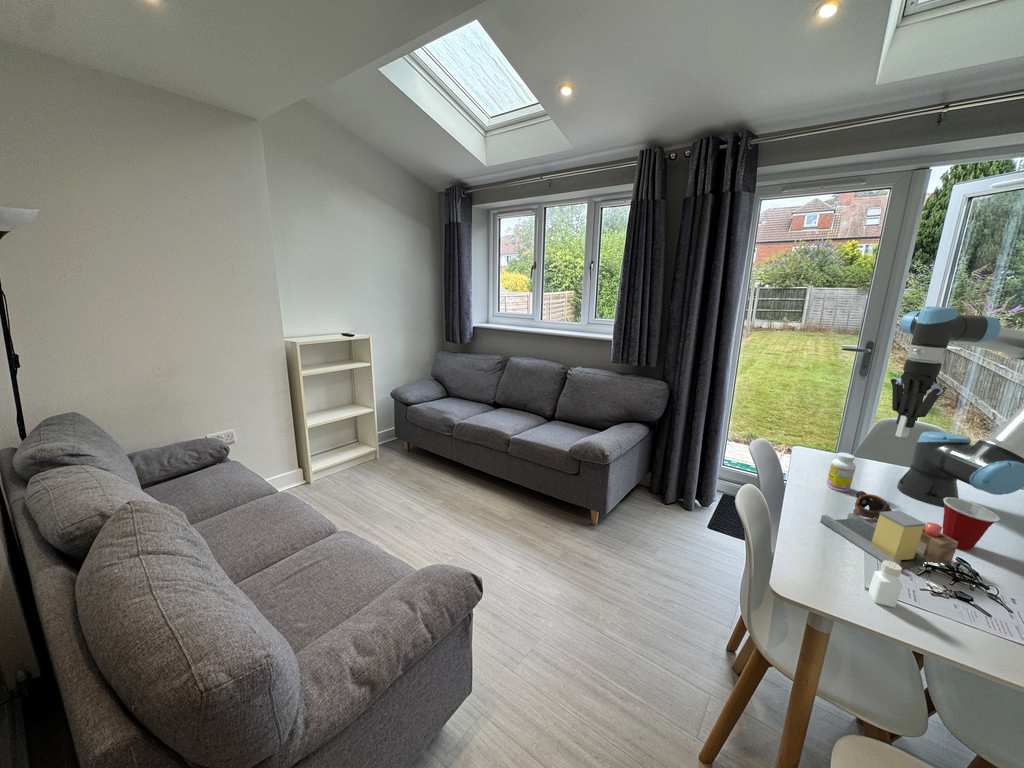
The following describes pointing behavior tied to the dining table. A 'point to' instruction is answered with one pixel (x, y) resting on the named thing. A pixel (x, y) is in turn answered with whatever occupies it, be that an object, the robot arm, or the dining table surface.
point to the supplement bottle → (841, 472)
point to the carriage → (898, 534)
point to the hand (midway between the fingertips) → (901, 436)
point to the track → (869, 539)
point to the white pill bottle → (886, 584)
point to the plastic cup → (966, 522)
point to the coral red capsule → (933, 530)
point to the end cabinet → (937, 547)
